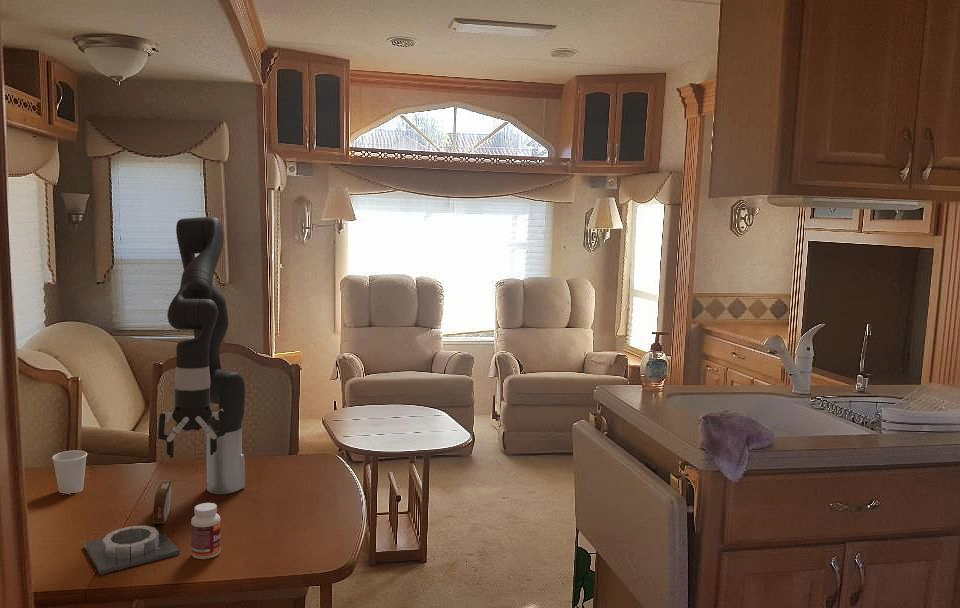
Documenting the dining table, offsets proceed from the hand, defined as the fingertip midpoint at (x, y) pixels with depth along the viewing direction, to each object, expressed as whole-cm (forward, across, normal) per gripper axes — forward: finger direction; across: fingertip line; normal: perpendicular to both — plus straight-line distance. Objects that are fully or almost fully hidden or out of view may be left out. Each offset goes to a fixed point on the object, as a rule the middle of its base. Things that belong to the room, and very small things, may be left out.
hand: (191, 455), depth 166 cm
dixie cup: (+20, +30, -43) cm, 57 cm away
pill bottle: (+21, -3, +7) cm, 22 cm away
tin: (+20, +6, -17) cm, 28 cm away
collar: (+21, +12, 0) cm, 24 cm away
